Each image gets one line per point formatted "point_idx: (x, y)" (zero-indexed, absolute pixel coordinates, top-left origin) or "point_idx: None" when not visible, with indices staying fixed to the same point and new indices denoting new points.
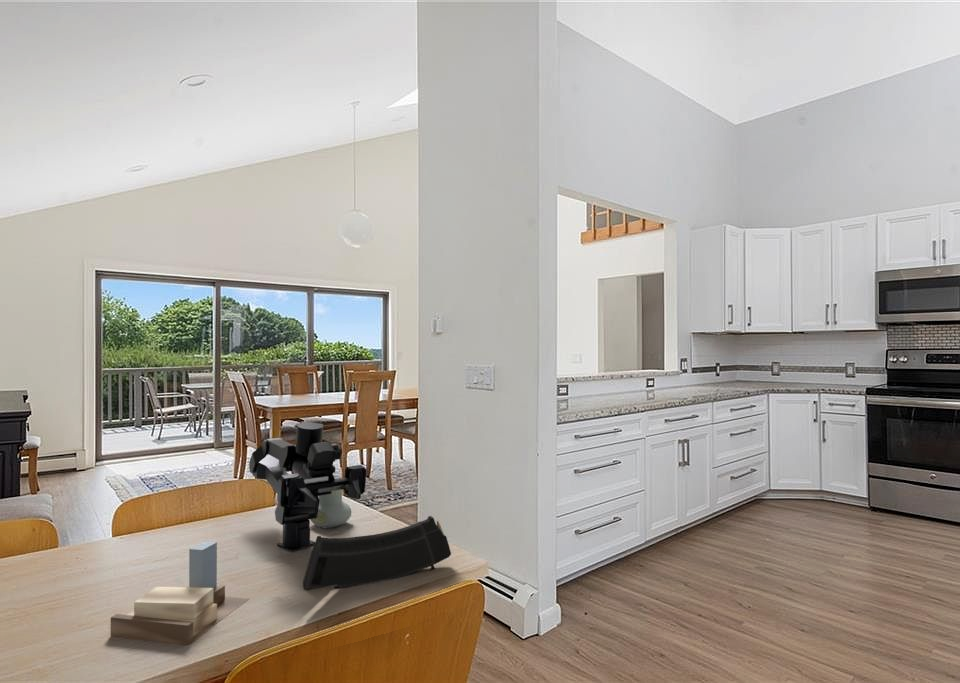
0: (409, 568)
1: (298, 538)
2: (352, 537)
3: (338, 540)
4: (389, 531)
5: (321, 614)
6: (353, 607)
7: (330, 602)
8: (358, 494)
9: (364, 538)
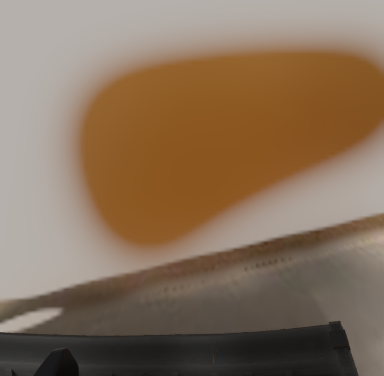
0: None
1: None
2: (190, 361)
3: (254, 333)
4: (38, 362)
5: (310, 268)
6: (243, 271)
7: (287, 312)
8: (65, 357)
9: (152, 337)
